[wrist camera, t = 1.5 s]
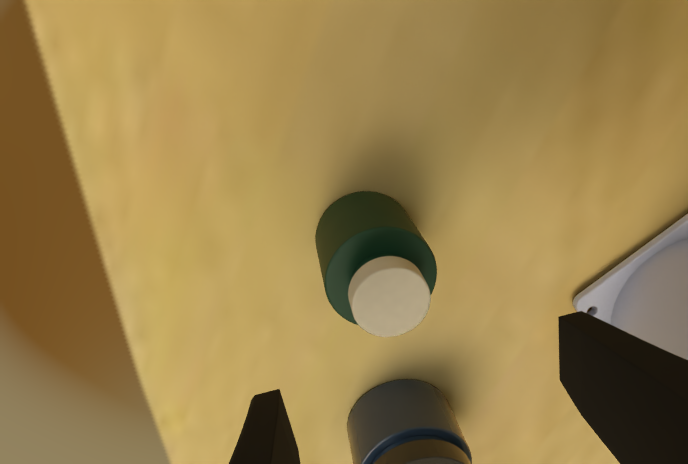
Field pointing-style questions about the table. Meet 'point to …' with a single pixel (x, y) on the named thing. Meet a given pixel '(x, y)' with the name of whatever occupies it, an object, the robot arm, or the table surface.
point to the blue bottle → (405, 426)
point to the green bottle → (375, 264)
